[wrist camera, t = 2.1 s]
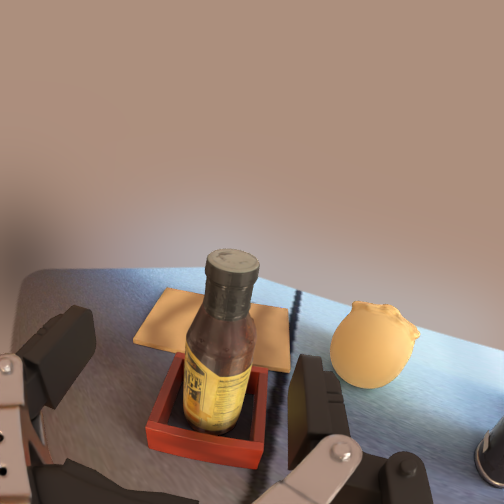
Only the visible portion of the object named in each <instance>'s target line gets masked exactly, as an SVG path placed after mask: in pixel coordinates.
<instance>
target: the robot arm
mask: <svg viewBox="0 0 504 504" xmlns="http://www.w3.org/2000/svg"><path fill="white" fill-rule="evenodd" d="M95 349H96V336H95V329H94V321H93V314H92V311H91V310H90V309H86V308H83V307H79V306H76V305H73V306H71V307H70V308H69V309H68V310H67V311H66V312H65V313H64V314H59V315H57V316H55V317H53V318H51V319H50V320H49V321H48V322H46V323H45V324H44V325H43V328H40V329H39V330H38V331H37V334H34V335H33V336H32V337H31V338H30V339H29V340H28V341H27V342H26V344H25V345H24V346H23V347H22V348H21V349H20V350H19V351H18V352H17V353H16V354H12V353H5V354H1V355H0V504H199V501H198V500H193V499H188V498H184V497H179V496H175V495H171V494H167V493H162V492H147V491H135V490H127V489H124V488H122V487H121V486H119V485H117V484H116V483H114V482H113V481H111V480H110V479H108V478H106V477H105V476H103V475H102V474H100V473H99V472H97V471H96V470H94V469H91V468H89V467H86V466H84V465H82V464H79V463H77V462H75V461H72V460H70V459H68V458H67V459H66V461H65V463H64V465H59V464H54V463H53V461H52V458H51V456H50V453H49V448H48V443H47V438H46V432H45V426H44V419H43V413H42V411H41V409H42V408H43V406H44V405H46V406H48V407H50V408H52V409H54V410H55V409H56V407H57V406H58V404H59V403H60V401H61V400H62V398H63V397H64V395H65V394H66V393H67V391H68V390H69V388H70V387H71V385H72V384H73V382H74V381H75V380H76V378H77V377H78V375H79V374H80V373H81V371H82V370H83V368H84V367H85V366H86V364H87V363H88V361H89V360H90V359H91V357H92V356H93V354H94V352H95ZM343 402H344V400H343V395H342V390H341V385H340V381H339V380H338V379H337V377H336V376H335V374H334V373H333V372H332V371H323V365H322V359H321V357H320V356H312V355H304V354H300V355H299V358H298V361H297V364H296V367H295V370H294V373H293V376H292V379H291V382H290V385H289V390H288V470H293V471H292V472H291V473H290V474H289V475H288V476H287V477H286V478H285V479H283V480H282V481H281V480H279V481H278V482H276V483H275V484H274V485H273V486H271V487H270V488H269V489H268V490H267V491H266V492H265V493H264V494H263V495H261V496H260V497H259V498H258V499H257V500H256V501H254V502H253V503H252V504H433V500H432V495H431V490H430V486H429V482H428V477H427V473H426V469H425V466H424V463H423V462H422V460H421V459H420V458H419V457H418V456H416V455H415V454H413V453H410V452H405V451H402V452H397V453H395V454H393V455H392V456H391V457H390V458H389V459H386V458H382V457H378V456H374V455H371V454H367V453H365V452H363V451H362V450H361V447H360V446H359V444H358V443H357V442H356V441H355V440H353V439H352V438H351V436H350V431H349V426H348V420H347V415H346V410H345V405H344V404H343ZM475 464H476V467H477V470H478V472H479V473H480V475H481V476H482V478H483V479H484V480H485V481H486V482H488V483H489V484H491V485H492V486H495V487H498V488H504V416H503V417H502V418H501V419H500V421H499V422H498V423H497V424H496V425H495V427H494V428H493V429H492V430H491V431H490V433H489V430H488V432H487V433H486V434H485V435H484V439H483V440H482V441H481V442H480V443H479V444H478V446H477V448H476V451H475Z"/></svg>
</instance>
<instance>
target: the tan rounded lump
mask: <svg viewBox="0 0 504 504" xmlns="http://www.w3.org/2000/svg"><path fill="white" fill-rule="evenodd" d="M419 336H420V332H419V331H418V330H417V328H416V326H414V325H413V324H412V323H410V322H409V321H407V320H406V319H405V318H403V317H402V316H401V314H400V312H399V311H398V310H397V309H396V308H395V307H393V306H391V305H388V304H383V305H376V304H373V303H367V302H361V301H354V302H353V303H352V310H351V312H350V313H349V314H348V315H347V316H346V317H345V318H344V320H343V321H342V322H341V323H340V324H339V326H338V327H337V329H336V331H335V333H334V335H333V337H332V341H331V345H330V358H331V362H332V365H333V367H334V369H335V371H336V372H337V374H338V375H339V376H340V377H341V378H342V379H343V380H345V381H346V382H347V383H349V384H351V385H353V386H356V387H360V388H367V389H373V388H379V387H382V386H385V385H386V384H388V383H390V382H391V381H393V380H394V379H395V378H396V377H397V376H398V375H399V374H400V372H401V371H402V370H403V368H404V367H405V365H406V363H407V362H408V360H409V358H410V356H411V354H412V351H413V346H414V344H415V340H416V339H417V338H419Z"/></svg>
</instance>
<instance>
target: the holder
mask: <svg viewBox="0 0 504 504" xmlns="http://www.w3.org/2000/svg"><path fill="white" fill-rule="evenodd" d="M184 362H185V353H181V352H176V355H175V357H174V359H173V362H172V364H171V366H170V369H169V371H168V373H167V376H166V378H165V380H164V383H163V385H162V388H161V390H160V392H159V395H158V397H157V400H156V402H155V404H154V407H153V409H152V412H151V414H150V417H149V419H148V422H147V424H146V427H145V429H146V435H147V441H148V447H149V448H150V449H154V450H158V451H161V452H165V453H169V454H173V455H177V456H182V457H186V458H190V459H195V460H200V461H205V462H210V463H216V464H222V465H228V466H234V467H241V468H249V469H257V466H258V464H259V461H260V459H261V456H262V453H263V450H264V434H265V418H266V400H267V382H268V368H263V367H257V366H252V367H251V371H250V375H249V379H248V383H247V388H246V392H245V393H248V394H254V401H253V411H252V421H251V431H250V441H246V440H239V439H233V438H227V437H221V436H215V435H210V434H205V433H200V432H195V431H190V430H186V429H181V428H177V427H173V426H169V425H167V423H168V420H169V417H170V414H171V411H172V408H173V406H174V403H175V400H176V397H177V394H178V392H179V389H180V386H181V383H182V381H184Z"/></svg>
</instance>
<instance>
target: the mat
mask: <svg viewBox="0 0 504 504" xmlns="http://www.w3.org/2000/svg"><path fill="white" fill-rule="evenodd" d="M203 298H204V295H203V294H198V293H193V292H188V291H182V290H177V289H172V288H166V289H165V291H164V292H163V294H162V295H161V297H160V298H159V300H158V301H157V303H156V304H155V306H154V307H153V309H152V311H151V312H150V314H149V315H148V317H147V318H146V320H145V321H144V323H143V324H142V326H141V327H140V329H139V331H138V332H137V334H136V335H135V337H134V338H133V342H134V343H136V344H139V345H143V346H147V347H151V348H155V349H160V350H164V351H168V352H173V353H176V352H181V353H185V343H186V334H187V331H188V329H189V328H190V326H191V324H192V322H193V320H194V318H195V316H196V314H197V312H198V310H199V308H200V306H201V304H202V302H203ZM249 313H250V315H251V317H252V318H253V319H254V323H255V326H256V332H257V340H256V345H255V349H254V353H253V363H252V366H257V367H263V368H268V370H271V371H278V372H285V373H289V372H290V344H289V322H288V309H286V308H279V307H273V306H267V305H260V304H254V303H251V308H250V310H249Z"/></svg>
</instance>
